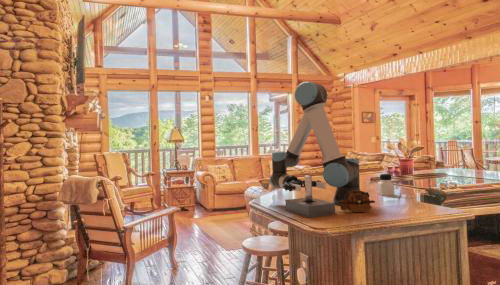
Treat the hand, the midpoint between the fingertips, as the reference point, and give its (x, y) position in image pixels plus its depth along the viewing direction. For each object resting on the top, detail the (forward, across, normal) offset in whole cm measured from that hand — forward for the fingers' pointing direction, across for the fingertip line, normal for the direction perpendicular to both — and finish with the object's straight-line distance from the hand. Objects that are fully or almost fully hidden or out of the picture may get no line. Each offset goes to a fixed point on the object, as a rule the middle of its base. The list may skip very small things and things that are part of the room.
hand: (312, 187), depth 172 cm
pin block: (-3, 0, -12) cm, 12 cm away
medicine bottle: (-20, -64, -12) cm, 68 cm away
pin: (-3, 0, -11) cm, 12 cm away
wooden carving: (+9, -18, -12) cm, 23 cm away
